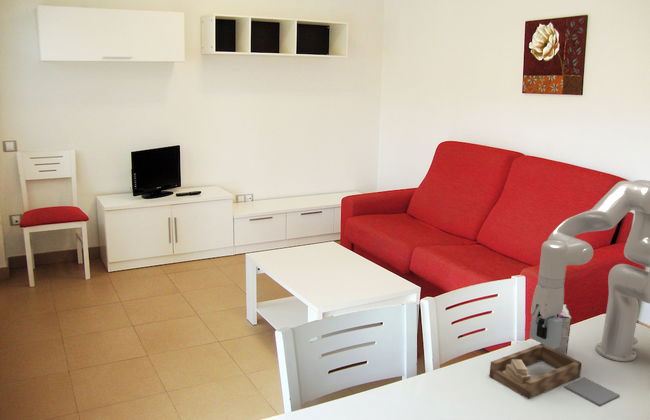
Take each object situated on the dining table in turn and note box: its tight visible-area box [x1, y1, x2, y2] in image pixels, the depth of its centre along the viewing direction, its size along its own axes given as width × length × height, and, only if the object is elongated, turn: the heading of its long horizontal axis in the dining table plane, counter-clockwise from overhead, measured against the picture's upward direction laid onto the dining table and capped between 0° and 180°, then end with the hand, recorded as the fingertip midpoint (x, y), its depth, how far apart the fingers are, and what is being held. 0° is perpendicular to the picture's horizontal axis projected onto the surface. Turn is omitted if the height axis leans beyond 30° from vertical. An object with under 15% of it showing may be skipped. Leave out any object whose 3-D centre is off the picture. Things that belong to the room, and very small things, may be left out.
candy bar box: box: [554, 304, 572, 356], centre depth 208 cm, size 11×5×16 cm, turn 168°
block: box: [529, 314, 563, 349], centre depth 193 cm, size 3×9×9 cm, turn 33°
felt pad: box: [563, 376, 620, 407], centre depth 187 cm, size 10×12×1 cm
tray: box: [488, 343, 583, 400], centre depth 195 cm, size 25×15×5 cm, turn 123°
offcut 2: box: [506, 364, 532, 385], centre depth 190 cm, size 3×8×2 cm, turn 20°
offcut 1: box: [511, 359, 528, 375], centre depth 190 cm, size 3×6×2 cm, turn 1°
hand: (545, 335), depth 193 cm, fingers closed on block, 3 cm apart
